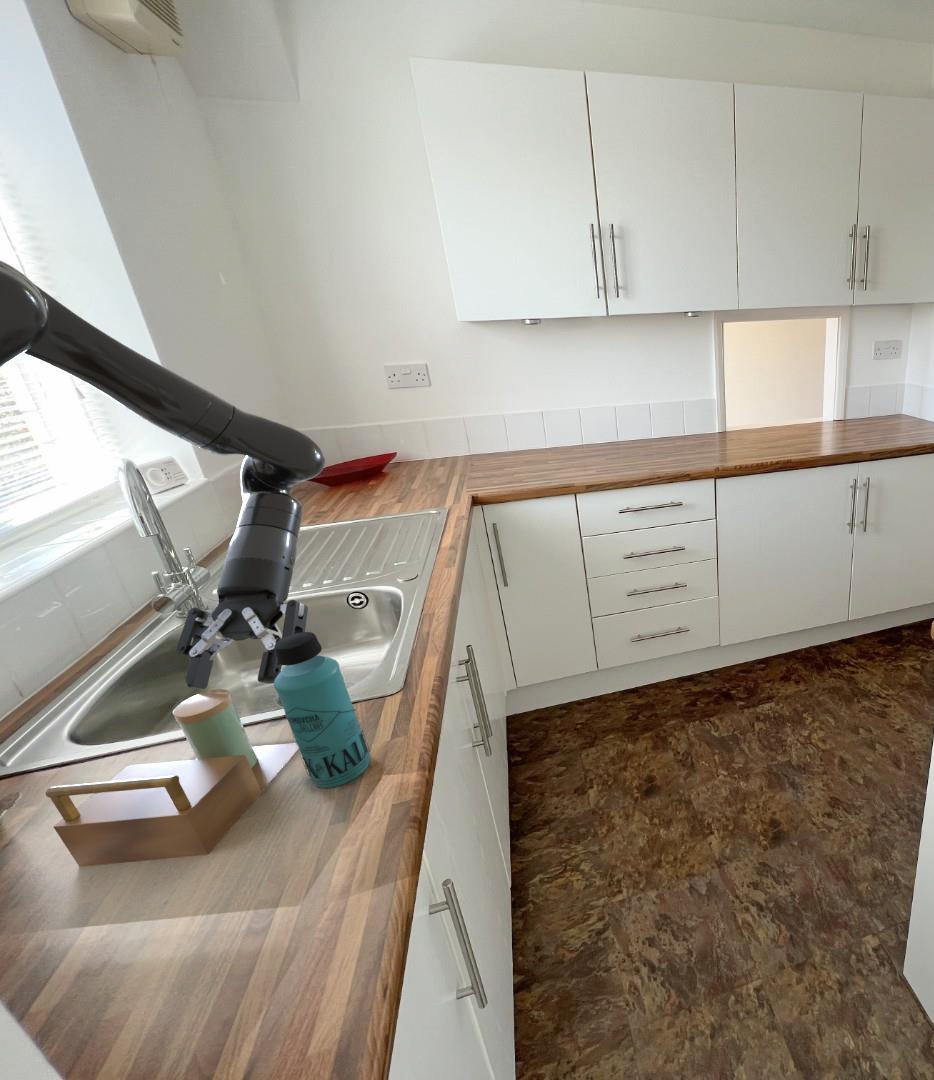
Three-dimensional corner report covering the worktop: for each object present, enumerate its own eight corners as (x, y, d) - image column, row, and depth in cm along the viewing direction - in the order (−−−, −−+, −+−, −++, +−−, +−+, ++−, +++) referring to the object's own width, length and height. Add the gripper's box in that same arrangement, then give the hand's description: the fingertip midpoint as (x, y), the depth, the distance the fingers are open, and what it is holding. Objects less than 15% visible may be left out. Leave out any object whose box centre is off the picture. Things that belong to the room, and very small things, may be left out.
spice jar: (195, 786, 70) (160, 718, 66) (226, 755, 75) (195, 690, 71) (239, 782, 70) (207, 714, 66) (268, 751, 75) (239, 687, 71)
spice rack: (85, 876, 61) (32, 796, 57) (208, 759, 76) (173, 690, 72) (213, 864, 61) (170, 783, 57) (309, 750, 77) (280, 681, 73)
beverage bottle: (322, 769, 73) (267, 632, 66) (380, 753, 76) (334, 618, 68) (308, 807, 68) (246, 661, 60) (372, 789, 70) (320, 646, 62)
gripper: (183, 559, 76) (146, 685, 70) (295, 551, 76) (268, 675, 70) (227, 578, 83) (197, 695, 76) (330, 570, 83) (308, 685, 77)
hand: (231, 685), depth 73 cm, fingers open, 8 cm apart
